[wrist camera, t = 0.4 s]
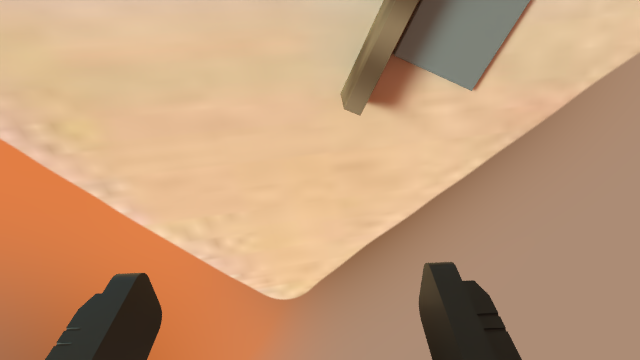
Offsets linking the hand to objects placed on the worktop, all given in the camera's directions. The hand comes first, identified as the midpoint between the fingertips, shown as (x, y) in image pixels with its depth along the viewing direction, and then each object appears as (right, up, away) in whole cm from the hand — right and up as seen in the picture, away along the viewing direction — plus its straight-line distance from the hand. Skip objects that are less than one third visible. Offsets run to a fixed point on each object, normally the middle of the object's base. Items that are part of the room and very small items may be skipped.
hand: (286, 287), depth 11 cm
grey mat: (+13, +18, +19) cm, 29 cm away
